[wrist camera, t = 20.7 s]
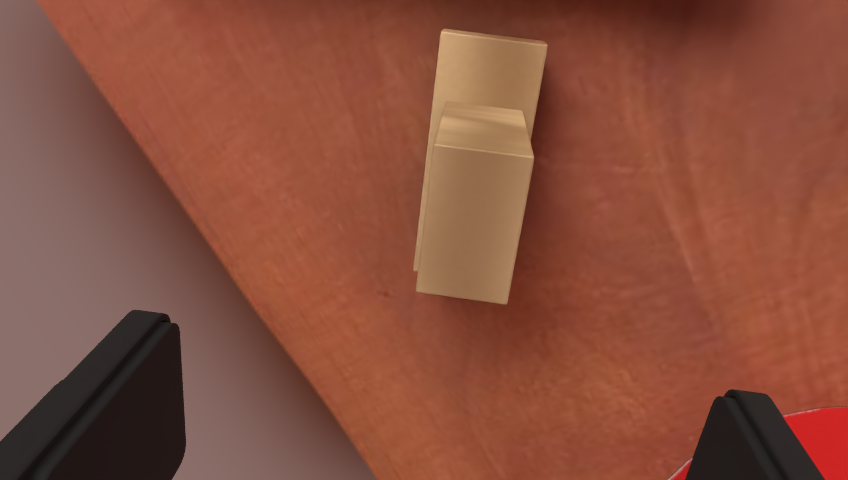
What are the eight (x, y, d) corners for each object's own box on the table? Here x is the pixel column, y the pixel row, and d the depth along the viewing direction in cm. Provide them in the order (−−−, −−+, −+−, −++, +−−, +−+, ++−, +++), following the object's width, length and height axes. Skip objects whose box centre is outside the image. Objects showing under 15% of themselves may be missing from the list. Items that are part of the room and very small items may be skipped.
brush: (418, 248, 30) (393, 355, 22) (444, 25, 26) (425, 53, 18) (503, 259, 30) (510, 372, 22) (542, 37, 26) (569, 71, 18)
